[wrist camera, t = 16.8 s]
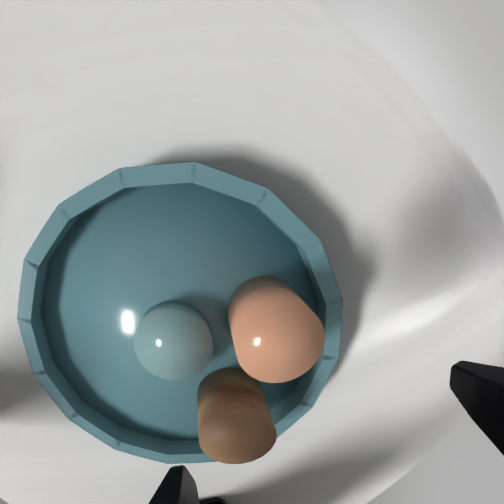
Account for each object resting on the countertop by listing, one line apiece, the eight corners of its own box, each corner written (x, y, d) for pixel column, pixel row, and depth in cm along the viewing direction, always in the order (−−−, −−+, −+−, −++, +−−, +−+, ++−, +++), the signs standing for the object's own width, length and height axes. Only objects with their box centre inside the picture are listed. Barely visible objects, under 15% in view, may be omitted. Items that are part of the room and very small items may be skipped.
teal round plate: (358, 373, 22) (373, 390, 20) (137, 464, 21) (134, 485, 18) (252, 113, 17) (260, 103, 15) (-7, 258, 16) (-27, 266, 14)
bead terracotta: (303, 330, 19) (330, 366, 15) (237, 350, 19) (248, 393, 15) (289, 266, 18) (316, 290, 14) (218, 287, 18) (224, 318, 14)
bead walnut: (223, 426, 20) (230, 472, 16) (183, 389, 19) (182, 435, 15) (273, 396, 20) (290, 440, 16) (237, 355, 19) (248, 398, 15)
